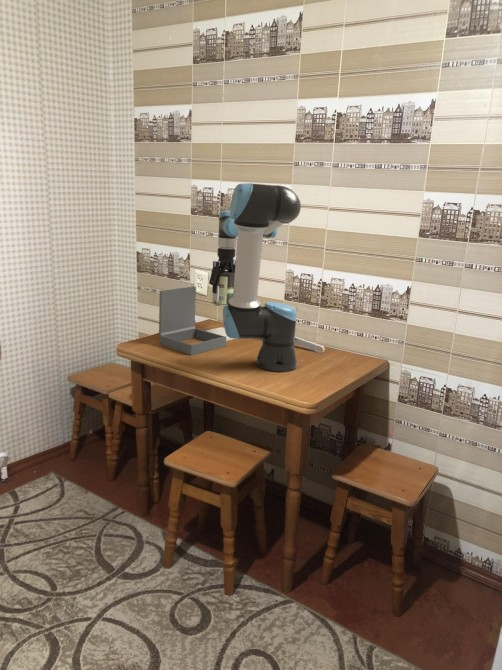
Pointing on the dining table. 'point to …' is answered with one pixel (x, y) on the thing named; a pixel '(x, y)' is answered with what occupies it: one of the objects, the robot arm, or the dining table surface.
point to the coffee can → (225, 288)
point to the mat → (220, 332)
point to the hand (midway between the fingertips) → (224, 299)
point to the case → (183, 323)
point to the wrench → (308, 345)
